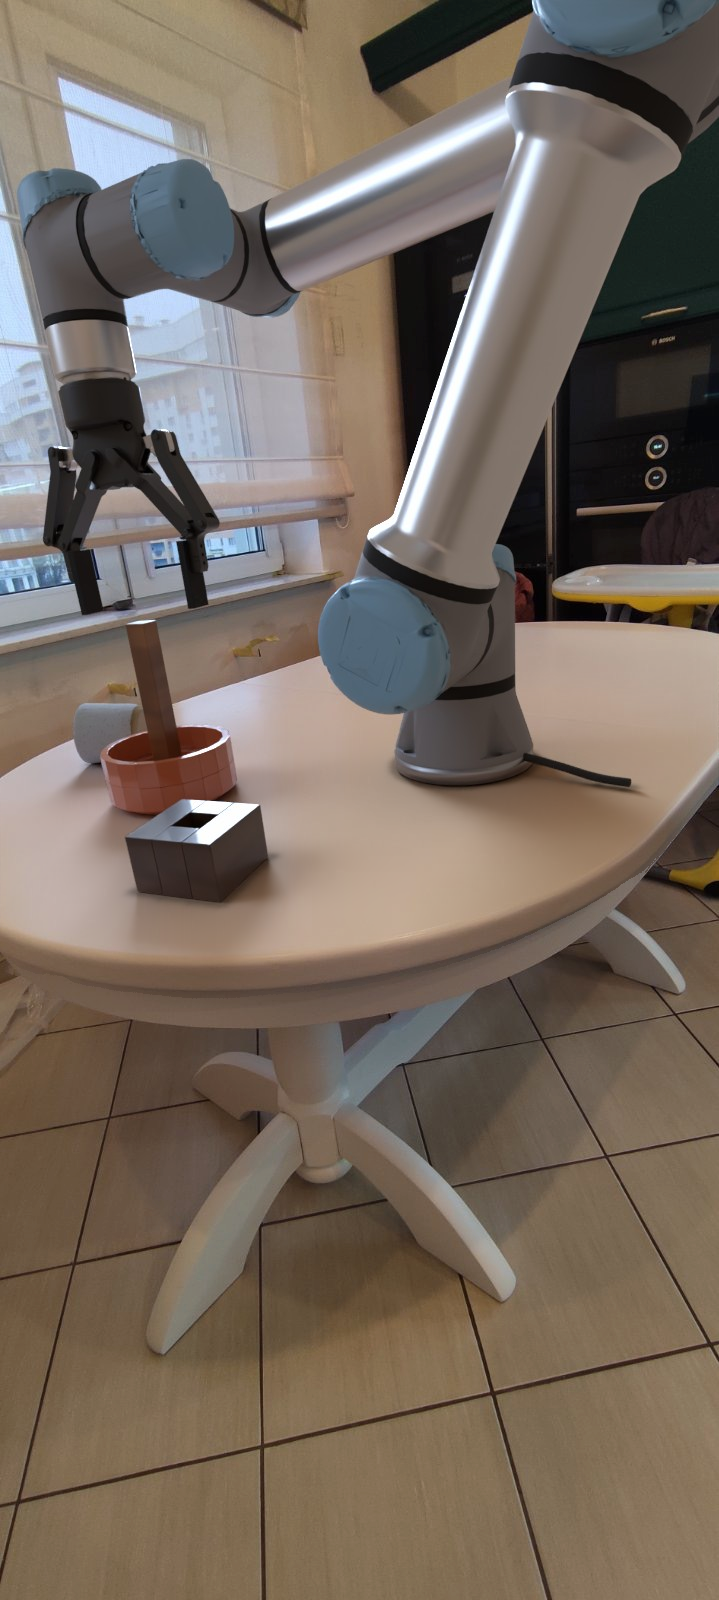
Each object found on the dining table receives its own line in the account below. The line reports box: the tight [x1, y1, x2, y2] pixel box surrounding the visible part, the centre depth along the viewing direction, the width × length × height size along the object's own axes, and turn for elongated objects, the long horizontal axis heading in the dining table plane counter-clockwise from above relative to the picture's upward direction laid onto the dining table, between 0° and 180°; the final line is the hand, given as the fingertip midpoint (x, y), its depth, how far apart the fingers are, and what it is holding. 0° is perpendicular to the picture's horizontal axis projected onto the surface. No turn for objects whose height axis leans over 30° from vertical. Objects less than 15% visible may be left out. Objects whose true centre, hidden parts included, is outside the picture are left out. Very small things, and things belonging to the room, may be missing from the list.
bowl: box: [100, 724, 238, 815], centre depth 79 cm, size 14×14×6 cm
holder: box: [124, 799, 269, 903], centre depth 60 cm, size 8×8×5 cm
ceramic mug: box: [72, 702, 147, 764], centre depth 94 cm, size 11×8×8 cm
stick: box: [125, 619, 182, 761], centre depth 76 cm, size 2×2×18 cm
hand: (144, 610), depth 77 cm, fingers open, 13 cm apart
